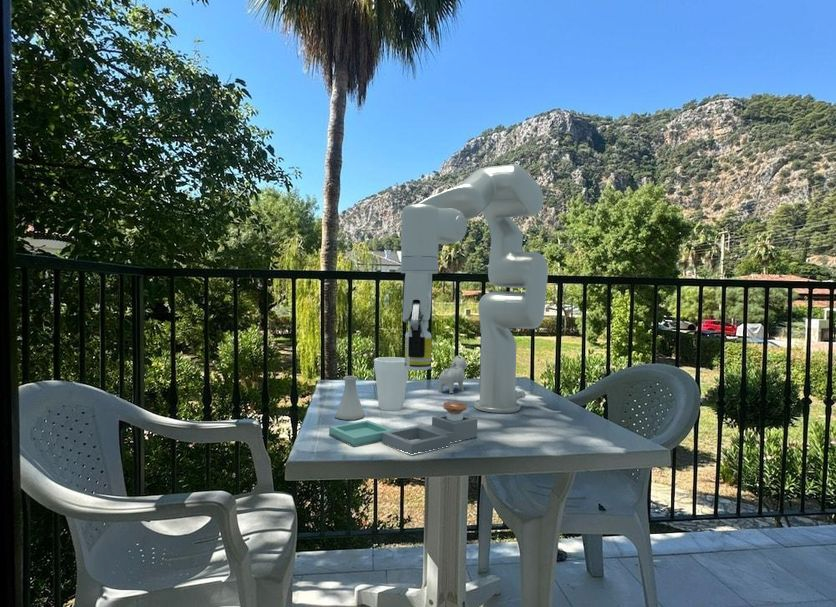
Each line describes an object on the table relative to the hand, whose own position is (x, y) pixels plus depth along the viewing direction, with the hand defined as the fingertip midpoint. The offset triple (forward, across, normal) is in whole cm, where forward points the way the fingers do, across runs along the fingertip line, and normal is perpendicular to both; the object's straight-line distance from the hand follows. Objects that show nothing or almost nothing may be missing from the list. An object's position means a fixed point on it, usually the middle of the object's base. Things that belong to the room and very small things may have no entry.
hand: (418, 354), depth 107 cm
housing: (+19, -3, +3) cm, 19 cm away
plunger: (+19, -7, +8) cm, 21 cm away
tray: (+19, -3, -12) cm, 23 cm away
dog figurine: (+20, -58, +5) cm, 61 cm away
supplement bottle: (+3, 0, 0) cm, 3 cm away
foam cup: (+19, -31, -10) cm, 38 cm away
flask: (+19, -19, -19) cm, 33 cm away
